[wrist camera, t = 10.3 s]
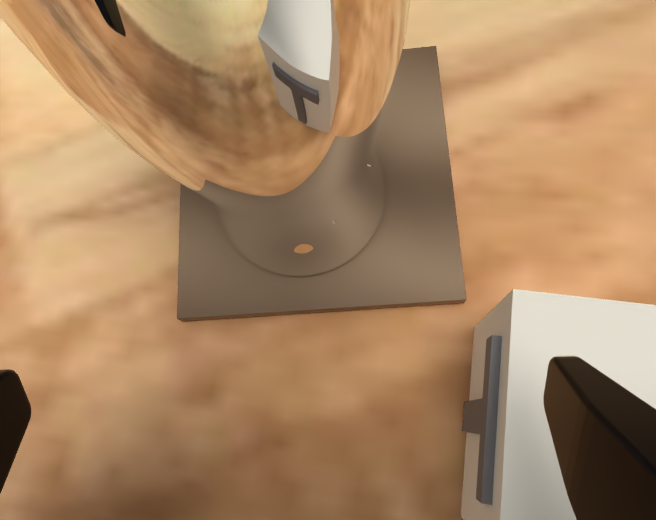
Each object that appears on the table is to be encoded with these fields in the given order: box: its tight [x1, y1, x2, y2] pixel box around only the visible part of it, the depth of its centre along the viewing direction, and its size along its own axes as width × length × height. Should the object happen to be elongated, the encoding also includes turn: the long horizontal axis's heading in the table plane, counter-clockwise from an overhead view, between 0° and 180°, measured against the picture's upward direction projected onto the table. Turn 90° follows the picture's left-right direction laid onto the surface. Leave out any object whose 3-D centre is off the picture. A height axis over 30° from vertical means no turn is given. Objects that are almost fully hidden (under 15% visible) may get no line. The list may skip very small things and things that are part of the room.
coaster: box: [177, 46, 466, 321], centre depth 21 cm, size 10×10×1 cm
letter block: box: [461, 289, 656, 520], centre depth 15 cm, size 6×6×6 cm
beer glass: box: [0, 0, 410, 276], centre depth 13 cm, size 7×7×15 cm
